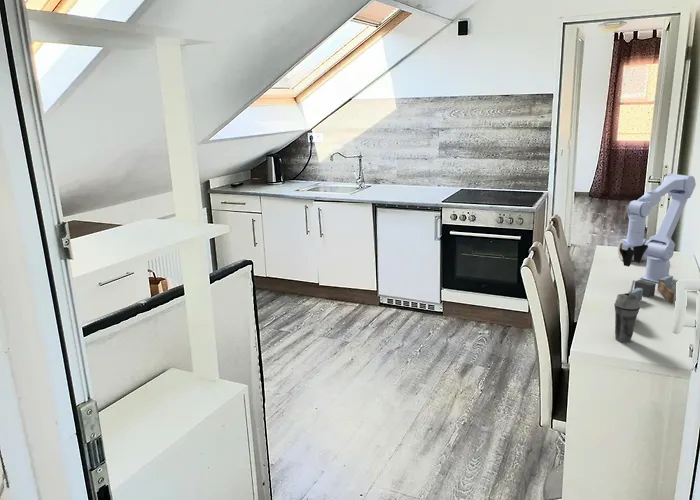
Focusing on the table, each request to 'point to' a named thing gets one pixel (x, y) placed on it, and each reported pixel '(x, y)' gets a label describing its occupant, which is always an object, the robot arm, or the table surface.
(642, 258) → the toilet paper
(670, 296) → the door
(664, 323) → the table surface
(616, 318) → the beverage cup
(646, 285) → the grey rectangular prism
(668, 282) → the wall frame
